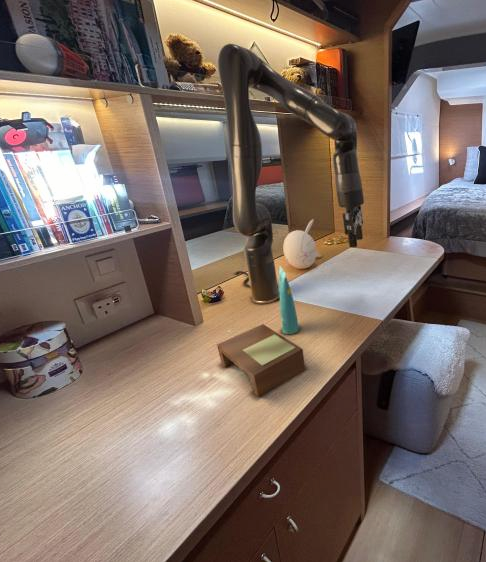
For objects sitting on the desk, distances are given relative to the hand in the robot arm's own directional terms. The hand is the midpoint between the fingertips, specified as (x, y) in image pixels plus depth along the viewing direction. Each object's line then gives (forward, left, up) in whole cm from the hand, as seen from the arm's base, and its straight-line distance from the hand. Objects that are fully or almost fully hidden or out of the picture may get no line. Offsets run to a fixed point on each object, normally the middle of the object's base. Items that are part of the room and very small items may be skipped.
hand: (356, 243), depth 103 cm
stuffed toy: (-45, +13, -22) cm, 52 cm away
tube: (-5, -24, -22) cm, 33 cm away
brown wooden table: (+4, -39, -22) cm, 45 cm away
